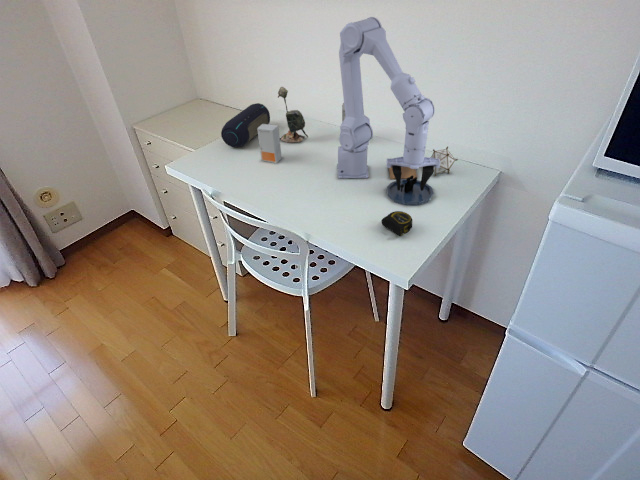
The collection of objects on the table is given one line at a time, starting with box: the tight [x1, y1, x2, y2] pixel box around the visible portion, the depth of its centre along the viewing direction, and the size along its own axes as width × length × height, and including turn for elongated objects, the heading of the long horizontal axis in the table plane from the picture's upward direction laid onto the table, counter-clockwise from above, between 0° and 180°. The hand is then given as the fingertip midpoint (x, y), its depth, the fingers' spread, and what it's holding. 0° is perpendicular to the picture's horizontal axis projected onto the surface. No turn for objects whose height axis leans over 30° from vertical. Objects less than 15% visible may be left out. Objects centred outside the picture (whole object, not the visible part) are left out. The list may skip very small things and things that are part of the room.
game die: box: [430, 146, 459, 177], centre depth 125 cm, size 9×8×10 cm
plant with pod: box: [277, 86, 309, 143], centre depth 145 cm, size 8×11×20 cm
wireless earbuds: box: [400, 175, 418, 193], centre depth 117 cm, size 7×2×5 cm, turn 128°
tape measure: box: [381, 210, 413, 238], centre depth 104 cm, size 7×7×4 cm
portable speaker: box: [220, 102, 271, 148], centre depth 152 cm, size 25×10×10 cm, turn 159°
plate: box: [386, 179, 434, 207], centre depth 118 cm, size 13×13×1 cm
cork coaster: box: [388, 167, 418, 180], centre depth 128 cm, size 8×8×1 cm
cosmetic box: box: [257, 123, 282, 164], centre depth 135 cm, size 6×4×12 cm
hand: (410, 188), depth 117 cm, fingers open, 6 cm apart
